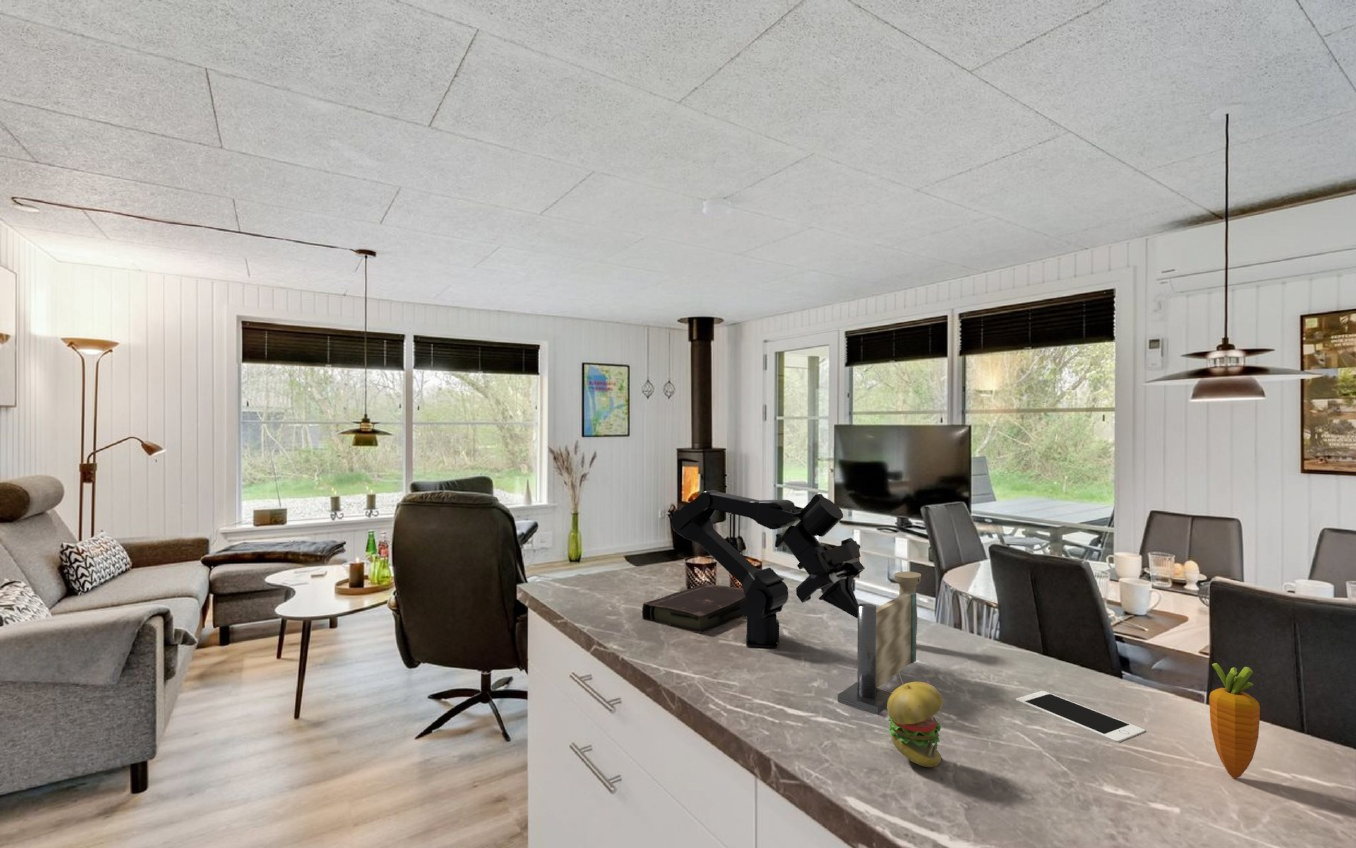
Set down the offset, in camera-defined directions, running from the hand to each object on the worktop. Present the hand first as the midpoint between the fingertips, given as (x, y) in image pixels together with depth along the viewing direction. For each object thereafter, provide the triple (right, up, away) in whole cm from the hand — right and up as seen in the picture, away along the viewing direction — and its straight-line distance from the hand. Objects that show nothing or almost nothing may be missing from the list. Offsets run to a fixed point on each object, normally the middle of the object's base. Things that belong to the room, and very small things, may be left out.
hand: (859, 616), depth 117 cm
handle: (+14, -11, +14) cm, 23 cm away
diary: (-29, -11, +35) cm, 47 cm away
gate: (+4, -9, -5) cm, 11 cm away
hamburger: (-2, -10, -32) cm, 34 cm away
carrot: (+39, -10, -36) cm, 54 cm away
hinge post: (-3, -10, -14) cm, 17 cm away
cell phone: (+30, -11, -18) cm, 36 cm away
